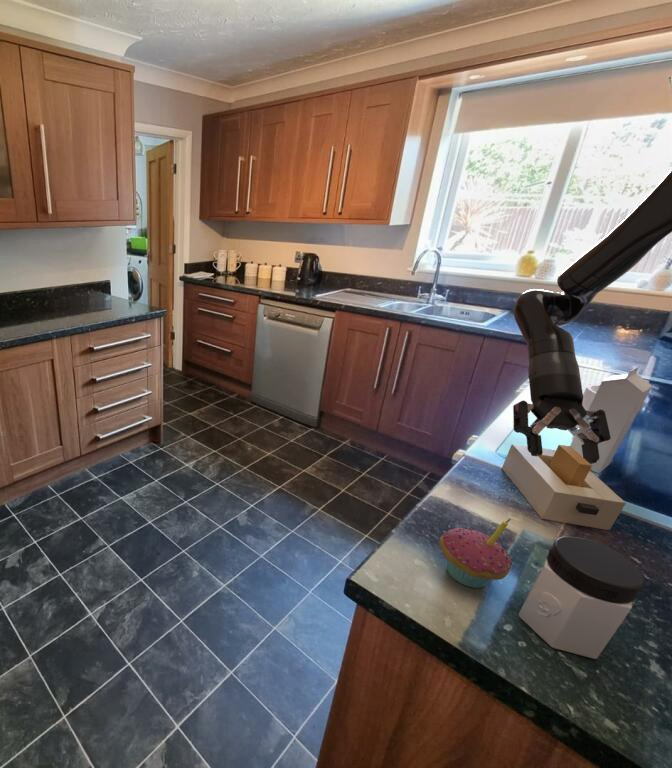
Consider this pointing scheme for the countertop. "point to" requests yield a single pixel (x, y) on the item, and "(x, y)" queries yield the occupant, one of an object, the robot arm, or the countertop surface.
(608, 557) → the jar
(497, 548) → the cupcake
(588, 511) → the toaster
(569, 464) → the toast
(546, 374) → the robot arm
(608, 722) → the countertop surface
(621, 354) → the countertop surface
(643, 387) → the milk
